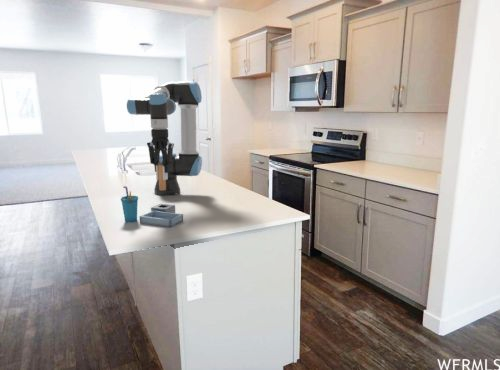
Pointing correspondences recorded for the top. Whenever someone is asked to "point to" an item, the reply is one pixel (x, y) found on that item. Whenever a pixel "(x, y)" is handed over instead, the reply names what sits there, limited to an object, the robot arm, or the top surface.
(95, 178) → the top surface
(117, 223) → the top surface
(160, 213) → the tray
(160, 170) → the pin
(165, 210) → the hitch block
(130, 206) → the cup
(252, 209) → the top surface
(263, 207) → the top surface
